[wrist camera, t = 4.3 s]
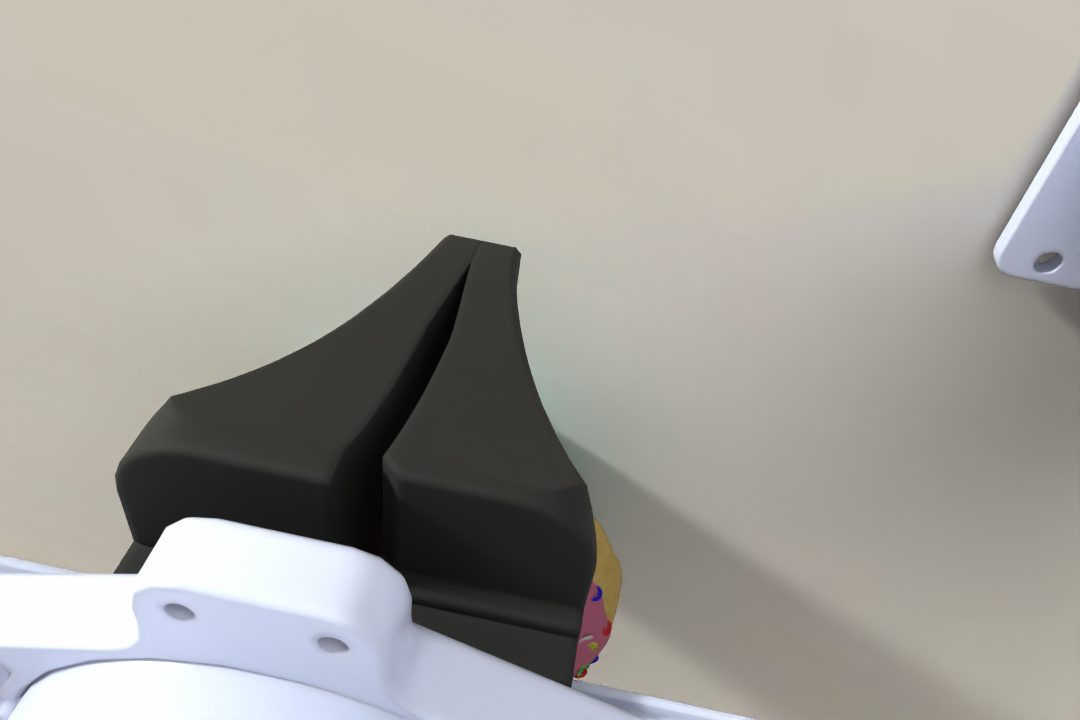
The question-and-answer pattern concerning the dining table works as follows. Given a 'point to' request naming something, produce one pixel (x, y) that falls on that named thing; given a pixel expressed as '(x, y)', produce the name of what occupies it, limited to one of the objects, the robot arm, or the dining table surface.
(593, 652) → the cupcake
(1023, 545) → the dining table surface
